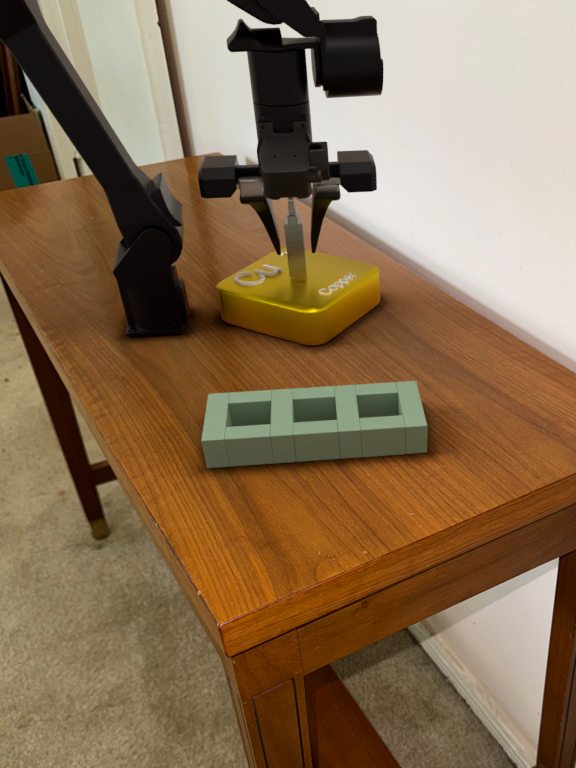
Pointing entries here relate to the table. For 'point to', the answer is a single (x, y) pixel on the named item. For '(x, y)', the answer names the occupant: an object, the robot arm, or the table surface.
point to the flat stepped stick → (295, 241)
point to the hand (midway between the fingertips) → (296, 252)
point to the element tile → (299, 297)
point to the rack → (313, 424)
